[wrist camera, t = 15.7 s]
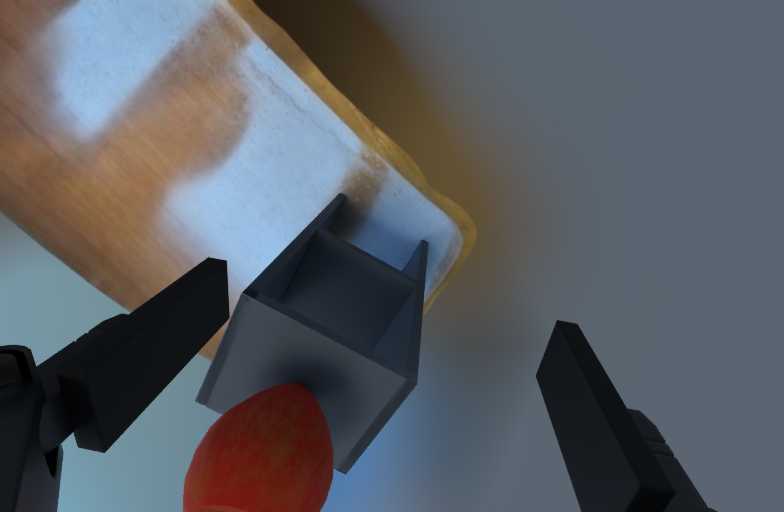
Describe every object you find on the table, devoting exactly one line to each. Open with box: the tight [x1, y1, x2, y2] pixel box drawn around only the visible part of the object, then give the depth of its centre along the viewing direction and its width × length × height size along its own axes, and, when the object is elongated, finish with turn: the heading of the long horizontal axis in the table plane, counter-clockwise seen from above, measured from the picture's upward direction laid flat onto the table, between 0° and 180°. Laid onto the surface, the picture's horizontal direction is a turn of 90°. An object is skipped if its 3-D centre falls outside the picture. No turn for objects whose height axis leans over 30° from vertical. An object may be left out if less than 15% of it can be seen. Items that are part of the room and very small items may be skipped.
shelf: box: [195, 193, 428, 474], centre depth 42 cm, size 12×14×28 cm
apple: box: [183, 382, 334, 512], centre depth 24 cm, size 9×8×11 cm
